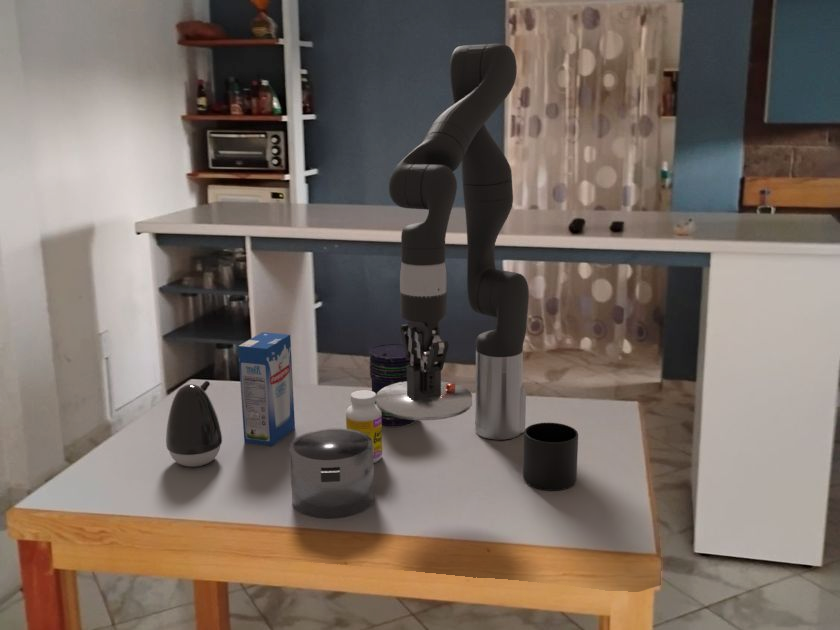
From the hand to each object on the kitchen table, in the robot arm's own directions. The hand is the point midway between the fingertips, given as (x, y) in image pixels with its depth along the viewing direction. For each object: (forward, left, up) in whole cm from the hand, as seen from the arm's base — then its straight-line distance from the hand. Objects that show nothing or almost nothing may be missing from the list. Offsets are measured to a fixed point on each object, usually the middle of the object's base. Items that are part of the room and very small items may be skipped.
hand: (423, 389), depth 147 cm
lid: (0, 0, -2) cm, 2 cm away
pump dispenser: (+32, -32, -20) cm, 50 cm away
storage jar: (-10, -35, -20) cm, 41 cm away
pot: (+14, -6, -19) cm, 25 cm away
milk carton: (+16, -38, -20) cm, 46 cm away
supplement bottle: (+3, -19, -20) cm, 27 cm away
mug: (-24, +3, -20) cm, 31 cm away
